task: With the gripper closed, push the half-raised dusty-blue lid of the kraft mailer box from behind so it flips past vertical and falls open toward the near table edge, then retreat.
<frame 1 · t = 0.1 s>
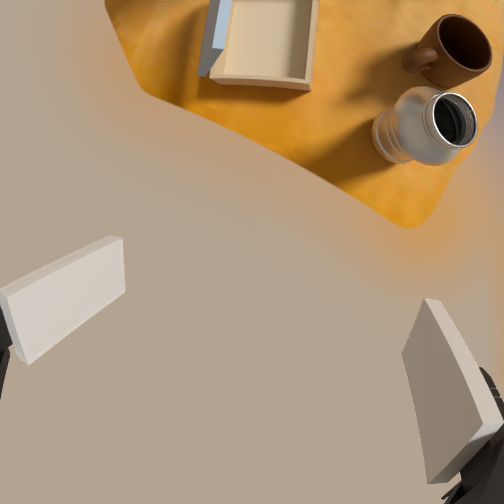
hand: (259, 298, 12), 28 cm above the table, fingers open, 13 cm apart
plastic bottle: (392, 137, 33), on the table
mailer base: (270, 33, 32), on the table
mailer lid: (218, 2, 23), point 10 cm above the table, hinge at 60.0°
mug: (426, 67, 28), on the table
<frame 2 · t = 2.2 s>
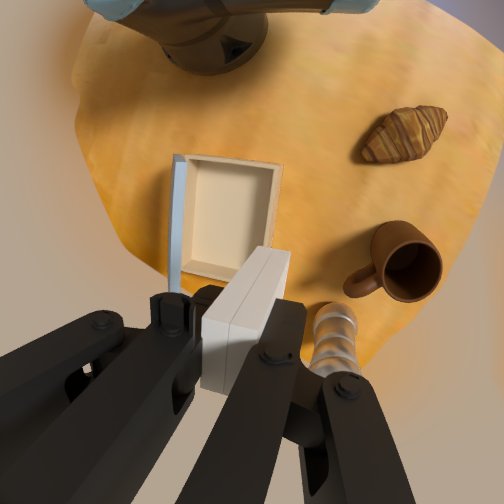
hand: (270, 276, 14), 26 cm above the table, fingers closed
plastic bottle: (335, 316, 43), on the table
croissant: (403, 134, 33), on the table
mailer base: (232, 215, 41), on the table
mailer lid: (174, 229, 33), point 10 cm above the table, hinge at 60.0°
mug: (381, 252, 38), on the table
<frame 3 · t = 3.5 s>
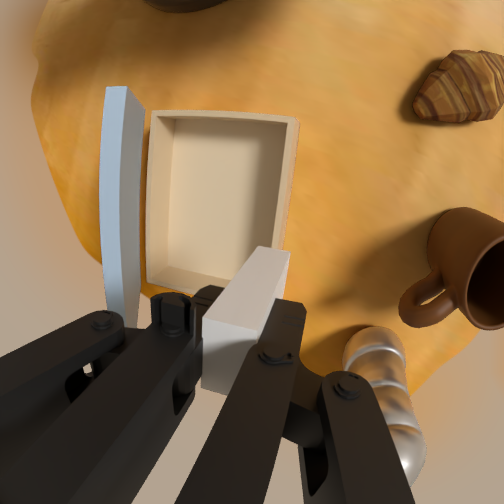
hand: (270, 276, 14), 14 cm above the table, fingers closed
plastic bottle: (371, 343, 29), on the table
croissant: (463, 88, 19), on the table
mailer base: (224, 201, 28), on the table
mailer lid: (125, 220, 19), point 10 cm above the table, hinge at 60.0°
mug: (439, 253, 24), on the table
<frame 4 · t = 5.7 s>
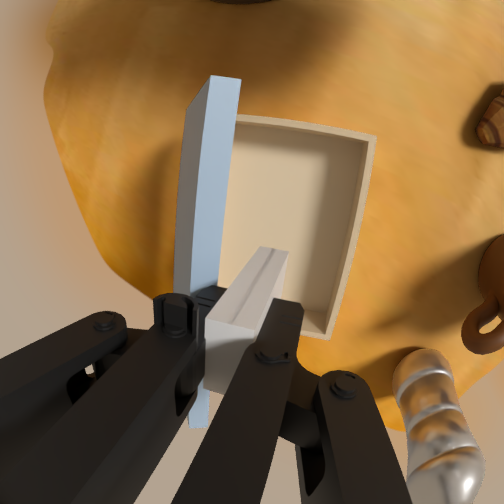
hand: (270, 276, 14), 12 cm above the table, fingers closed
plastic bottle: (417, 364, 26), on the table
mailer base: (281, 220, 25), on the table
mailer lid: (189, 246, 16), point 10 cm above the table, hinge at 60.3°, touching gripper
mug: (487, 276, 22), on the table
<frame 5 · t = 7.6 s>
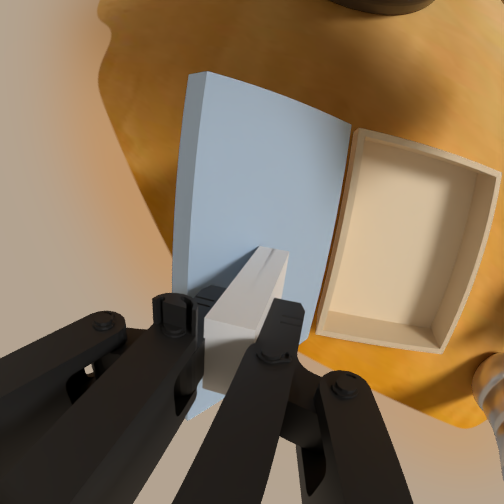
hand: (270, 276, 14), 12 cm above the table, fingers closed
plastic bottle: (488, 367, 24), on the table
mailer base: (403, 241, 23), on the table
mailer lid: (272, 257, 16), point 10 cm above the table, hinge at 117.4°, touching gripper
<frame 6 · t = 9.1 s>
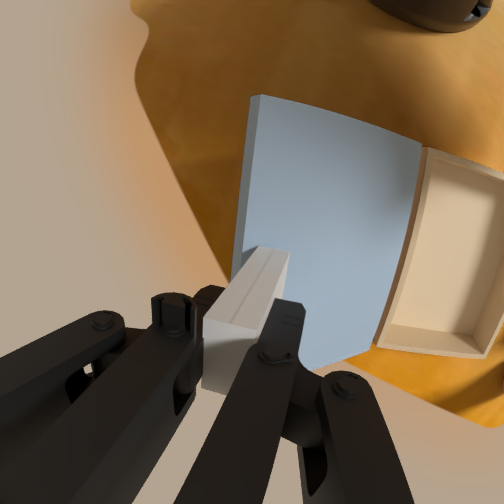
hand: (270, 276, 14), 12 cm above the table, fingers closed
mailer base: (453, 254, 22), on the table
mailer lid: (332, 260, 17), point 8 cm above the table, hinge at 141.1°, touching gripper
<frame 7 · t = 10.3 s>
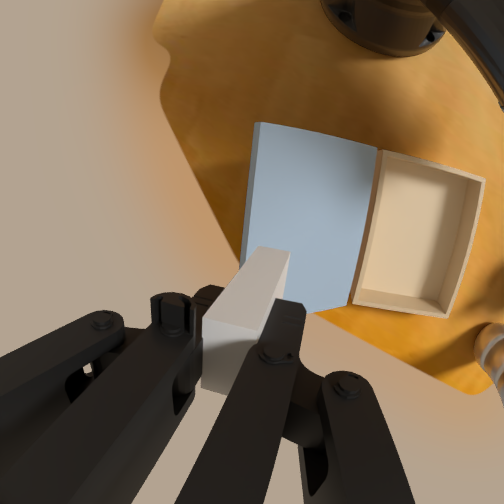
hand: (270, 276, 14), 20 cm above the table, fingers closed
plastic bottle: (486, 336, 31), on the table
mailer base: (413, 232, 30), on the table
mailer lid: (311, 229, 25), point 8 cm above the table, hinge at 141.4°
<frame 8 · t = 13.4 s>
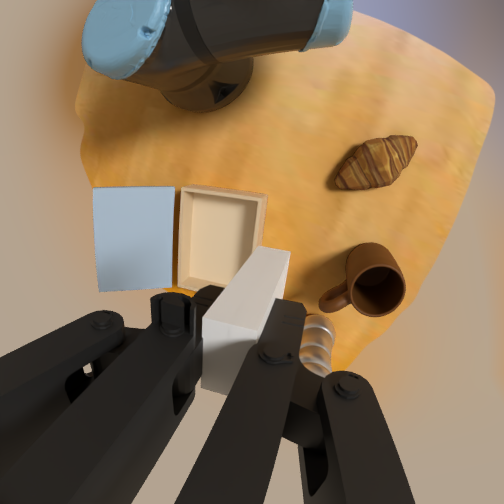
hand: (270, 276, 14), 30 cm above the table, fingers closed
plastic bottle: (316, 326, 48), on the table
croissant: (376, 162, 38), on the table
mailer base: (224, 239, 47), on the table
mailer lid: (133, 240, 42), point 8 cm above the table, hinge at 141.4°
mug: (356, 270, 44), on the table
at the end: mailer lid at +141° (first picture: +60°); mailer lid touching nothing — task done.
